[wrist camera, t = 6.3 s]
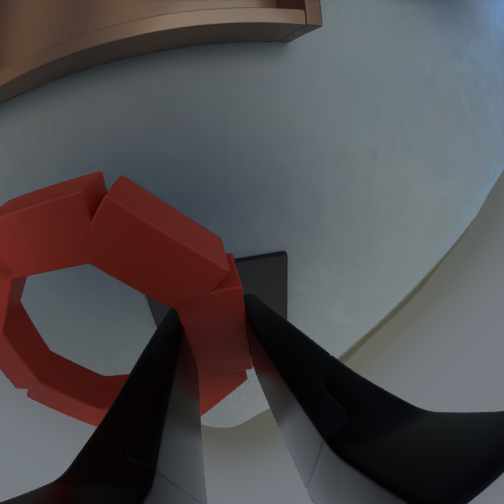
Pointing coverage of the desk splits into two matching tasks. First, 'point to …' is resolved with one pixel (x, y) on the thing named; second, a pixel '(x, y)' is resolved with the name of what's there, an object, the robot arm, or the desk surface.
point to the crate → (131, 32)
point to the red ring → (127, 271)
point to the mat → (252, 283)
